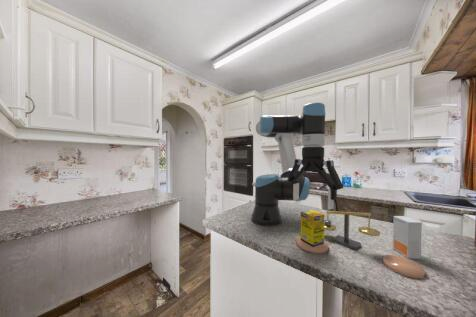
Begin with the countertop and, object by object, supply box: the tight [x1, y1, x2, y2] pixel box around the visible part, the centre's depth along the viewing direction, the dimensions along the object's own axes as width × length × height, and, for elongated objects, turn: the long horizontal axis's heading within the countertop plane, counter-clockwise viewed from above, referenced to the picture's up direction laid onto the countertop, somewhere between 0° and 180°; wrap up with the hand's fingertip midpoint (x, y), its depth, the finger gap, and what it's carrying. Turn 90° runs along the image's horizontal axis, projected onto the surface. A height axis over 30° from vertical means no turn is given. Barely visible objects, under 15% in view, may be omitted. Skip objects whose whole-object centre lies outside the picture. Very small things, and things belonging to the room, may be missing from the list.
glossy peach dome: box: [382, 254, 426, 279], centre depth 51 cm, size 9×9×1 cm
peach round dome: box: [295, 235, 330, 255], centre depth 64 cm, size 11×11×1 cm
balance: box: [324, 210, 381, 251], centre depth 65 cm, size 20×6×13 cm, turn 36°
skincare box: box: [392, 215, 423, 260], centre depth 58 cm, size 6×4×12 cm
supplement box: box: [300, 209, 325, 247], centre depth 64 cm, size 6×6×11 cm
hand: (311, 203), depth 64 cm, fingers open, 13 cm apart
